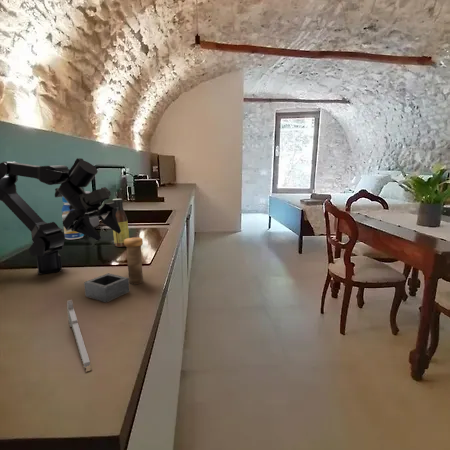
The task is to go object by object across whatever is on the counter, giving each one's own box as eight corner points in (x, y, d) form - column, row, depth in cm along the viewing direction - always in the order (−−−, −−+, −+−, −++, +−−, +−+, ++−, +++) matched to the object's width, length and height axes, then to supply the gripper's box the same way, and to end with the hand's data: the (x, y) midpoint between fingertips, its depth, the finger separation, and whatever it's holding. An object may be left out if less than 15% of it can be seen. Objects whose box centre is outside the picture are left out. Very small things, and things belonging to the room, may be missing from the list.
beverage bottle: (87, 237, 154) (84, 194, 150) (71, 240, 147) (66, 196, 143) (77, 234, 158) (73, 193, 154) (60, 238, 151) (55, 195, 147)
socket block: (106, 302, 83) (104, 287, 82) (85, 296, 87) (84, 282, 86) (129, 291, 90) (128, 277, 89) (109, 286, 94) (108, 273, 93)
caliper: (68, 324, 73) (65, 298, 71) (73, 323, 73) (71, 297, 72) (85, 374, 56) (82, 341, 55) (92, 372, 56) (89, 339, 55)
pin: (129, 286, 93) (126, 242, 91) (125, 280, 98) (122, 238, 95) (147, 282, 96) (144, 240, 93) (142, 277, 100) (139, 236, 98)
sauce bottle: (132, 244, 140) (129, 198, 136) (123, 248, 134) (120, 200, 130) (120, 243, 142) (116, 197, 138) (110, 246, 136) (106, 199, 132)
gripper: (66, 181, 87) (103, 223, 85) (111, 177, 104) (143, 212, 103) (46, 209, 91) (82, 250, 89) (93, 201, 108) (123, 235, 107)
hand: (110, 235), depth 97 cm, fingers open, 9 cm apart
